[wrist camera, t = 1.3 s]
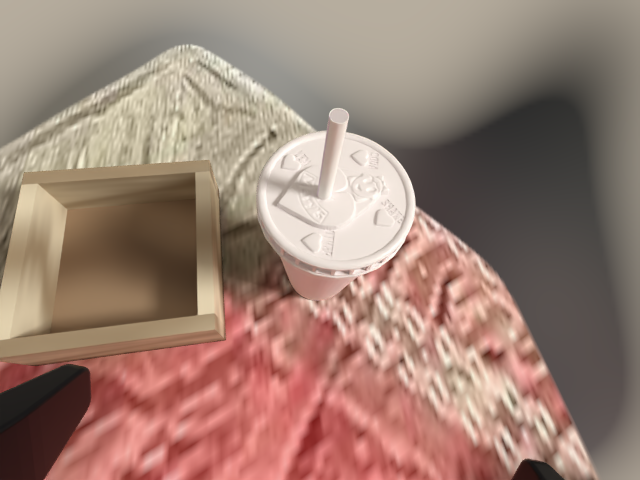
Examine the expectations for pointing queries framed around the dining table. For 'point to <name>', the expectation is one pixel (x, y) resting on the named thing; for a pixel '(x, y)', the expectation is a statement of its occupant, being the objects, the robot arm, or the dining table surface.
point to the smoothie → (333, 207)
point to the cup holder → (112, 263)
